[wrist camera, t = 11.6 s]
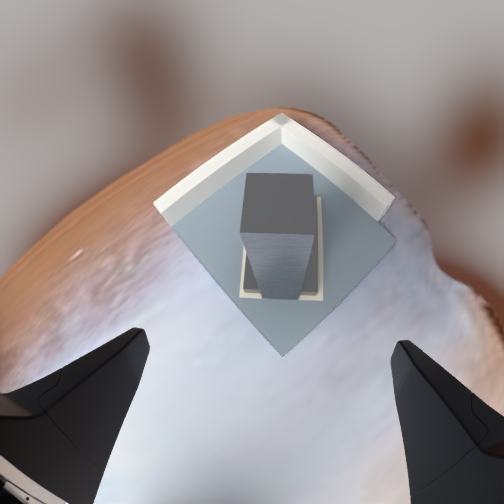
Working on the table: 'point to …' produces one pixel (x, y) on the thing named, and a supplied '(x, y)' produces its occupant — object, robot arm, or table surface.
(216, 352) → the table surface
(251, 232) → the bracket
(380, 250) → the mat
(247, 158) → the walls
